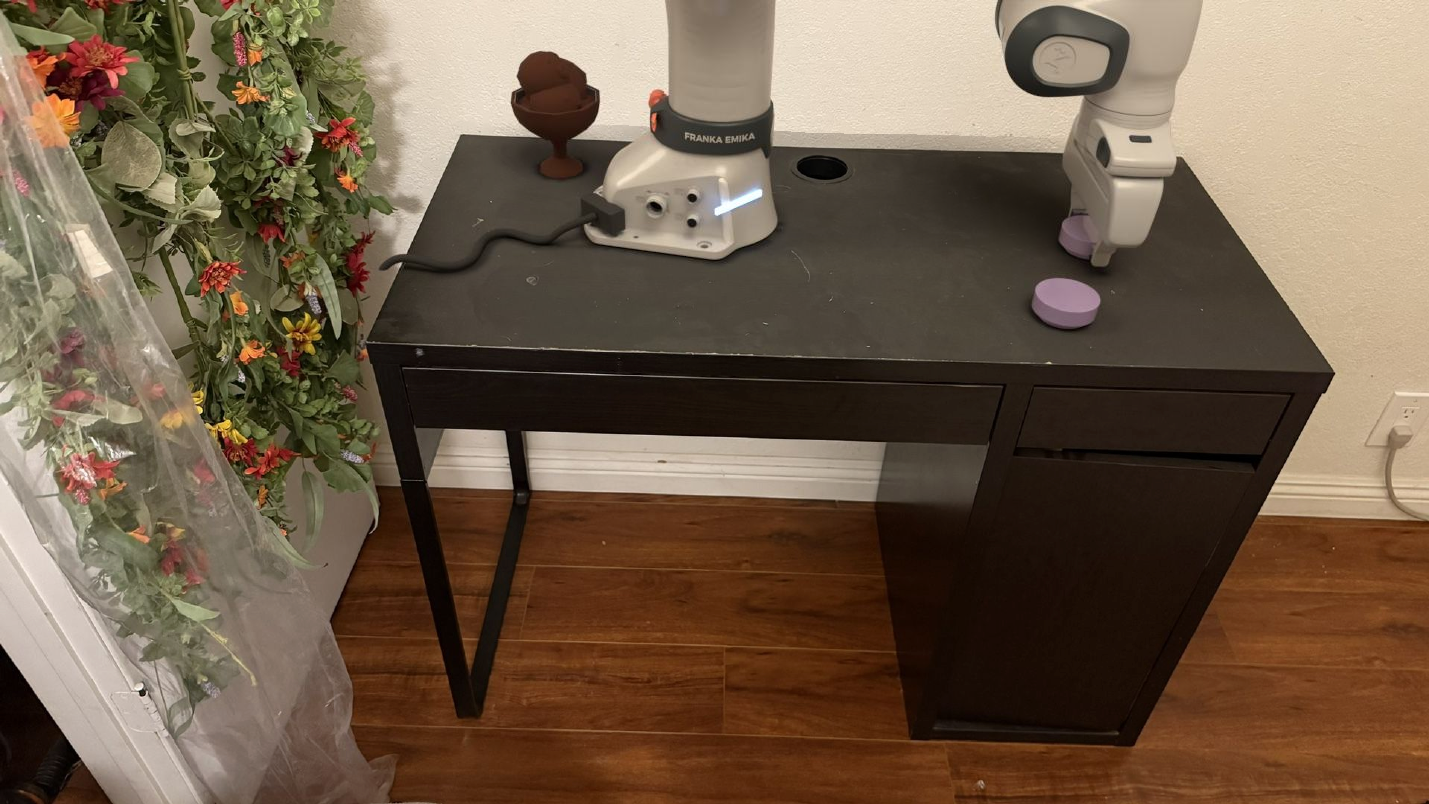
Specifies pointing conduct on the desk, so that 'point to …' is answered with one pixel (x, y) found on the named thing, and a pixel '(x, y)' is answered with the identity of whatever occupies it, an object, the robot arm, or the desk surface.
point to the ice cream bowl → (555, 107)
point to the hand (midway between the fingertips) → (1086, 242)
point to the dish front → (1065, 303)
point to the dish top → (1078, 235)
